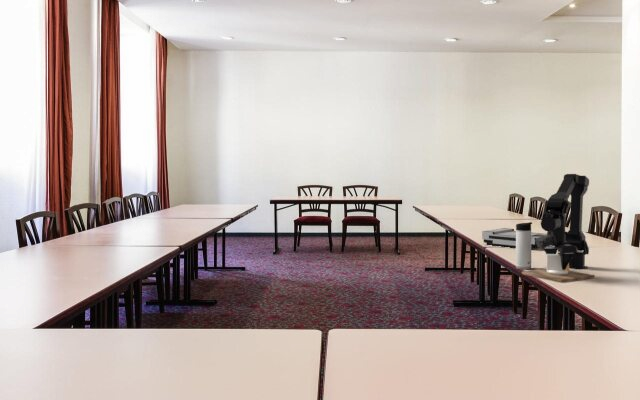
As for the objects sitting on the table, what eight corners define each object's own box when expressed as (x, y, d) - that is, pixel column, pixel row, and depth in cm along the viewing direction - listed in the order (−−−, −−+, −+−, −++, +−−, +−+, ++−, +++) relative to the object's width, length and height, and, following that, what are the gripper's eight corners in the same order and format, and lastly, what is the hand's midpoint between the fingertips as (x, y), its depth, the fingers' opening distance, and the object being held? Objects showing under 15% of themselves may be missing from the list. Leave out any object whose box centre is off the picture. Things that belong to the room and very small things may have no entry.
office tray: (534, 251, 292) (534, 235, 291) (482, 245, 317) (482, 231, 316) (555, 247, 305) (555, 232, 304) (503, 242, 330) (503, 228, 329)
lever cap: (546, 270, 231) (546, 252, 231) (567, 271, 229) (567, 253, 228) (547, 274, 224) (547, 255, 223) (569, 275, 221) (569, 256, 221)
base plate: (554, 269, 239) (554, 267, 239) (594, 277, 221) (594, 274, 221) (521, 274, 231) (521, 271, 231) (561, 282, 213) (561, 279, 213)
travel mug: (533, 269, 240) (533, 223, 239) (517, 269, 241) (516, 223, 240) (530, 267, 246) (530, 221, 245) (515, 267, 248) (514, 221, 246)
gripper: (527, 227, 233) (527, 264, 234) (550, 232, 215) (550, 272, 216) (552, 226, 235) (552, 263, 236) (578, 231, 216) (577, 271, 217)
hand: (557, 267), depth 226 cm, fingers open, 9 cm apart
